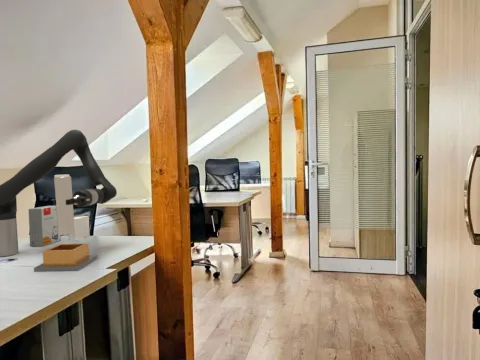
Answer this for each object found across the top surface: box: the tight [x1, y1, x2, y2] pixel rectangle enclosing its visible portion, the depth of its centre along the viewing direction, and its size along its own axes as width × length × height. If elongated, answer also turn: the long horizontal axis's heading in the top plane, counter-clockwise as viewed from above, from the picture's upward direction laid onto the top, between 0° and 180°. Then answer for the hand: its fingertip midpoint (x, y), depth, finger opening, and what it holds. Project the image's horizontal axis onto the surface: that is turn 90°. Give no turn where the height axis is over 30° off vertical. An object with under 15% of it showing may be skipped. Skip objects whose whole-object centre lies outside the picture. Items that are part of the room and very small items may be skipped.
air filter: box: [53, 174, 75, 236], centre depth 154 cm, size 6×6×25 cm
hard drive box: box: [28, 205, 62, 247], centre depth 199 cm, size 16×8×20 cm, turn 171°
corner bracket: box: [68, 215, 91, 241], centre depth 212 cm, size 11×11×12 cm
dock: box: [33, 242, 98, 273], centre depth 155 cm, size 18×18×8 cm
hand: (60, 202), depth 151 cm, fingers closed on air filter, 5 cm apart
